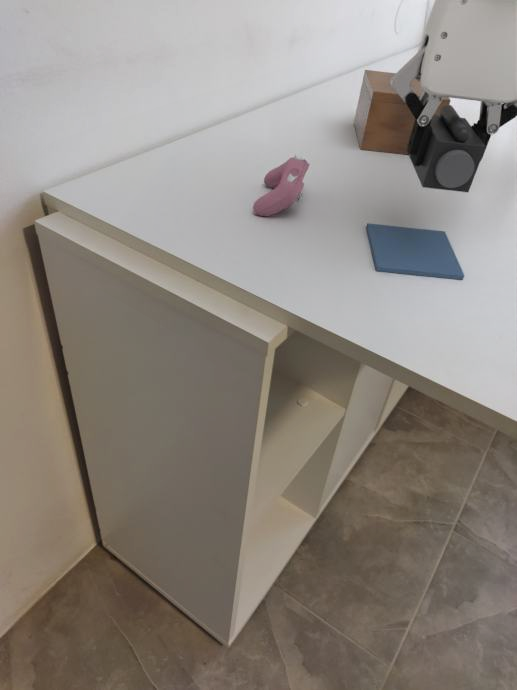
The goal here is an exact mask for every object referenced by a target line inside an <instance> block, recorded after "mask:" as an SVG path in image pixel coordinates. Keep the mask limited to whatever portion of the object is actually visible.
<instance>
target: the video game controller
mask: <svg viewBox="0 0 517 690" xmlns="http://www.w3.org/2000/svg"><path fill="white" fill-rule="evenodd" d="M309 167H310V163H308V161H307V160H306V159H303V158H302V157H298V156H297V155H296V154H295V155H294V157H290V158H288V159H287V160H286V161H285V162H283V163H282V164H280V165H278V166H277V167H275V168H272V169H271V170H269V171H268V172H267V173H266V174H265V176H264V178H263V183H264V185H265V186H266V188H269V189H272V190H271V191H269V192H267V193H265V194H263V195H262V196H260V197H259V198H257V199H256V201H254V203H253V206H252V210H253V213H254V214H256V215H257V216H261V217H263V216H264V217H267V216H268V217H269V216H273V215H275V214H277V213H280V212H281V211H285V210H286V209H287V208H288V207H290V206H292V205H293V204H294V202H295V201H296V202H297V203H299V202H301V201H302V199H303V197H304V193H302V191H303V188H304V185H305V182H304V178H305V175H306V173H307V171H308V169H309Z"/></svg>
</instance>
